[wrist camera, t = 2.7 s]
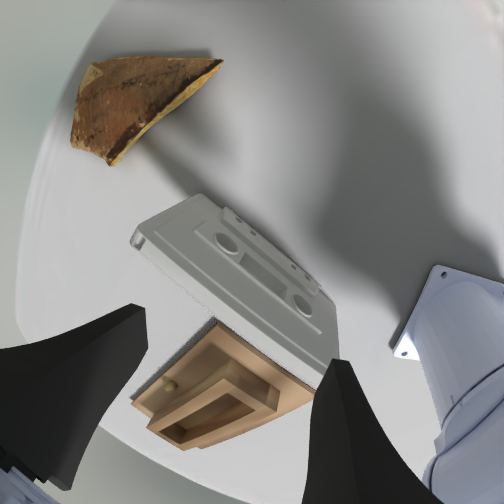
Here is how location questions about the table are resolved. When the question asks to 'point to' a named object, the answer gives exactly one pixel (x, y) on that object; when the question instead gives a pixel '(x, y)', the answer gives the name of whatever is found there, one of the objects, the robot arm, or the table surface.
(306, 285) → the cassette
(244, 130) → the table surface
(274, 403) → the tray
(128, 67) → the shard
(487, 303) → the robot arm
